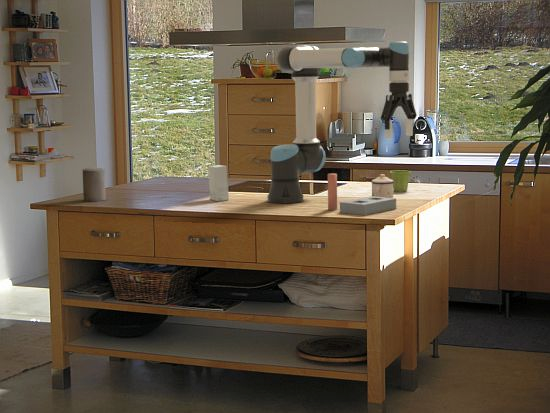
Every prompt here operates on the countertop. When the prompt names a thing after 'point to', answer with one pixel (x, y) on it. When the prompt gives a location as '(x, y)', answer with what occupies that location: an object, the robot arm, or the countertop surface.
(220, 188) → the skincare box
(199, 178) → the countertop surface
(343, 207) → the bore block
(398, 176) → the plant pot
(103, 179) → the pillar candle
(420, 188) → the countertop surface
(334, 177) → the dowel
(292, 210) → the countertop surface
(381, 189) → the teacup with lid
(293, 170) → the robot arm
